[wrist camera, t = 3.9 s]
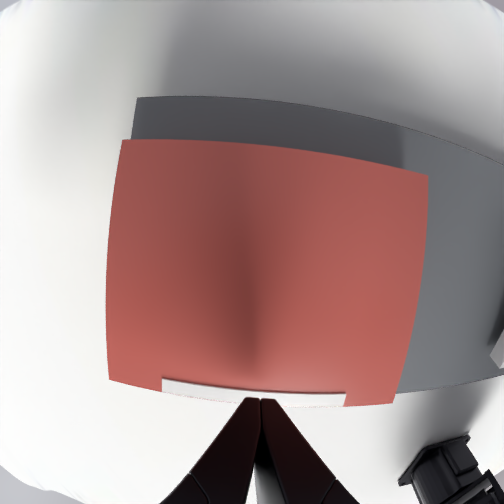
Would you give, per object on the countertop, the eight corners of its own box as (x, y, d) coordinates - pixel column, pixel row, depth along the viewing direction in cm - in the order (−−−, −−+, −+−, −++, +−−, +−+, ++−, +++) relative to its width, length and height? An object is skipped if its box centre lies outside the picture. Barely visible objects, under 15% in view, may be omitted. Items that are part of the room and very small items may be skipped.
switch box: (518, 341, 16) (550, 366, 11) (157, 336, 16) (126, 385, 11) (550, 206, 13) (590, 214, 9) (167, 118, 13) (128, 92, 9)
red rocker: (380, 388, 10) (393, 404, 8) (122, 366, 10) (108, 380, 8) (411, 181, 9) (429, 175, 8) (135, 149, 9) (121, 138, 8)
